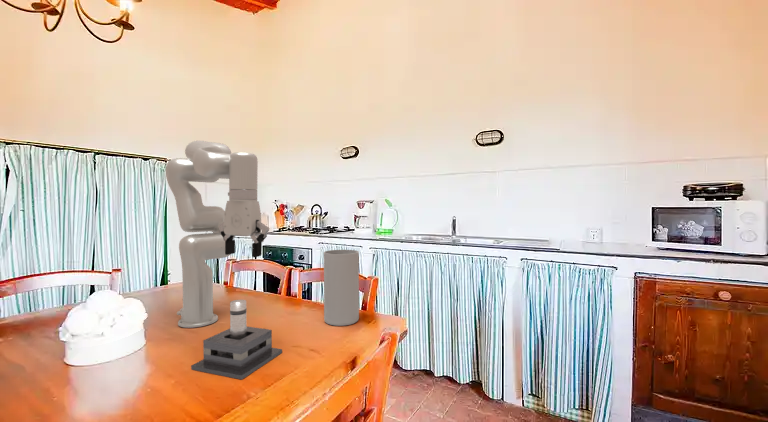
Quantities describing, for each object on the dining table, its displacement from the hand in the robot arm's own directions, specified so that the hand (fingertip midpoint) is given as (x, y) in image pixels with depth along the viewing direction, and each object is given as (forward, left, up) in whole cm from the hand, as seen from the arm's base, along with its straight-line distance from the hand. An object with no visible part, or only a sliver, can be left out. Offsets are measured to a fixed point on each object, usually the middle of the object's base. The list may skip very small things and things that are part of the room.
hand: (243, 255), depth 100 cm
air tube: (+4, -6, -27) cm, 28 cm away
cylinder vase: (+16, +32, -28) cm, 45 cm away
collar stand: (+4, -6, -28) cm, 28 cm away
